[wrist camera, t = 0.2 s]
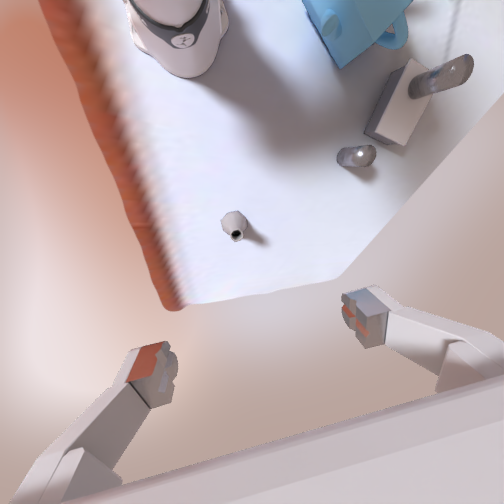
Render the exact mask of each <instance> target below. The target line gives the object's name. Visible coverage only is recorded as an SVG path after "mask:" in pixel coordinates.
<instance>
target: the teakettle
mask: <svg viewBox="0 0 504 504" xmlns="http://www.w3.org/2000/svg"><path fill="white" fill-rule="evenodd" d="M412 1H413V0H302V2H303V4H304V6H305V8H306V10H307V11H308V13H309V15H310V19H311V21H312V23H313V24H315V26H316V28H317V29H318V31H319V33H320V35H321V37H322V38H323V40H324V42H325V44H326V46H327V47H328V49H329V53H330V55H331V57H332V58H334V60H335V62H336V64H337V65H338V67H339V69H341V68H343V67H344V66H345V65H347V64H348V63H349V62H350V61H352V60H353V59H354V58H356V57H357V56H358V55H359V54H361V53H362V52H363V51H365V50H366V49H367V48H368V47H370V46H371V45H372V44H373V43H374V42H375V43H377V44H379V45H381V46H383V47H385V48H388V49H394V50H396V49H400V48H401V47H402V46H403V45H404V44H405V43H406V41H407V38H408V26H407V22H406V18H405V14H404V10H405V9H406V8H407V7H408V6H409V4H410V3H411V2H412ZM391 24H393V28H394V31H395V34H393V33H388V32H386V31H385V30H386V29H387V28H388V27H389V26H390V25H391Z"/></svg>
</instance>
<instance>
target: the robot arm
mask: <svg viewBox="0 0 504 504" xmlns="http://www.w3.org/2000/svg"><path fill="white" fill-rule="evenodd" d="M123 2H124V3H125V7H126V11H127V16H128V21H129V26H130V31H131V36H132V40H133V42H134V44H135V46H136V47H137V48H138V49H140V50H141V51H143V52H145V53H147V54H149V55H151V56H152V57H153V58H154V59H155V60H156V61H157V62H158V63H159V64H160V65H161V66H162V67H163V68H164V69H166V70H167V71H168V72H170V73H172V74H174V75H176V76H179V77H183V78H192V77H196V76H199V75H201V74H203V73H204V72H205V71H206V70H208V68H209V67H210V66H211V65H212V63H213V61H214V59H215V57H216V54H217V51H218V46H219V43H220V40H221V38H222V37H223V36H224V34H225V33H226V31H227V29H228V27H229V19H228V15H227V12H226V10H225V7H224V4H223V1H222V0H123ZM220 12H221V13H222V15H221V13H220ZM136 32H137V33H136ZM341 298H342V302H343V303H344V305H343V307H342V315H343V318H344V321H345V323H346V324H347V326H348V327H349V328H350V329H352V330H354V331H356V337H357V339H358V340H359V341H360V343H361V344H362V345H363V346H364V348H365V349H366V348H370V347H374V346H379V345H383V344H385V345H386V346H388V347H389V348H391V349H393V350H394V351H396V352H398V353H400V354H401V355H403V356H405V357H406V358H408V359H410V360H412V361H413V362H415V363H417V364H419V365H420V366H422V367H424V368H426V369H427V370H429V371H431V372H433V373H434V374H436V375H438V376H439V377H438V380H437V383H436V388H435V391H436V392H437V393H438V394H435V395H431V396H428V397H424V398H421V399H417V400H414V401H411V402H407V403H404V404H400V405H397V406H393V407H390V408H386V409H383V410H379V411H376V412H372V413H370V414H366V415H362V416H359V417H355V418H352V419H348V420H345V421H341V422H338V423H334V424H331V425H327V426H324V427H321V428H317V429H314V430H310V431H307V432H303V433H300V434H296V435H293V436H289V437H286V438H283V439H279V440H276V441H272V442H269V443H265V444H262V445H258V446H255V447H252V448H248V449H245V450H241V451H238V452H235V453H231V454H227V455H224V456H220V457H217V458H214V459H210V460H207V461H203V462H200V463H197V464H193V465H189V466H186V467H183V468H179V469H176V470H172V471H169V472H165V473H162V474H158V475H155V476H151V477H148V478H145V479H141V480H138V481H134V482H131V483H127V484H124V485H122V479H121V477H120V476H119V475H117V474H116V473H115V472H114V471H112V470H113V468H114V466H115V465H116V463H117V462H118V460H119V459H120V457H121V456H122V454H123V452H124V451H125V449H126V448H127V446H128V445H129V443H130V442H131V440H132V439H133V437H134V435H135V434H136V432H137V431H138V429H139V428H140V426H141V425H142V423H143V421H144V420H145V418H146V417H147V415H148V413H149V412H150V411H151V410H150V409H152V408H156V407H159V406H162V405H165V404H168V403H171V400H172V396H173V391H174V384H173V382H172V381H173V380H174V378H175V377H176V376H177V372H178V361H177V357H176V355H175V353H173V352H171V351H169V350H170V345H169V343H168V342H167V341H163V342H159V343H155V344H150V345H146V346H143V347H139V348H135V349H132V350H130V351H129V352H128V354H127V356H126V358H125V360H124V363H123V364H122V366H121V368H120V371H119V372H118V374H117V376H116V378H115V381H114V382H113V385H112V387H110V388H107V389H106V390H105V391H104V392H103V393H102V394H101V395H100V396H99V397H98V398H97V399H96V400H95V401H94V402H93V403H92V404H91V405H90V406H89V407H88V408H87V409H86V410H85V411H84V412H83V413H82V414H81V415H80V416H79V417H78V418H77V419H76V420H75V421H74V422H73V423H72V424H71V425H70V426H69V427H68V428H67V429H66V430H65V431H64V432H63V433H62V434H61V435H60V436H59V437H58V438H57V439H56V440H55V441H54V442H53V443H52V444H51V445H50V446H49V447H48V448H47V449H46V450H45V451H44V452H43V453H42V454H41V455H40V456H39V457H38V458H37V459H36V461H35V462H34V464H33V466H32V467H31V469H30V470H29V472H28V474H27V475H26V477H25V478H24V480H23V482H22V483H21V485H20V486H19V488H18V490H17V491H16V493H15V495H14V496H13V498H12V499H11V501H10V503H9V504H504V342H503V341H501V340H500V339H498V338H497V337H495V336H494V335H492V334H491V333H489V332H487V331H484V330H480V329H477V328H473V327H471V326H468V325H465V324H462V323H458V322H455V321H452V320H449V319H446V318H443V317H439V316H436V315H433V314H430V313H427V312H423V311H421V310H418V309H414V308H411V307H404V306H402V305H401V304H400V303H398V302H397V301H396V300H395V299H393V298H392V297H391V296H390V295H388V294H387V293H386V292H384V291H383V290H382V289H381V288H380V287H378V286H376V285H371V286H368V287H364V288H361V289H357V290H354V291H350V292H347V293H343V294H342V297H341Z"/></svg>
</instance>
